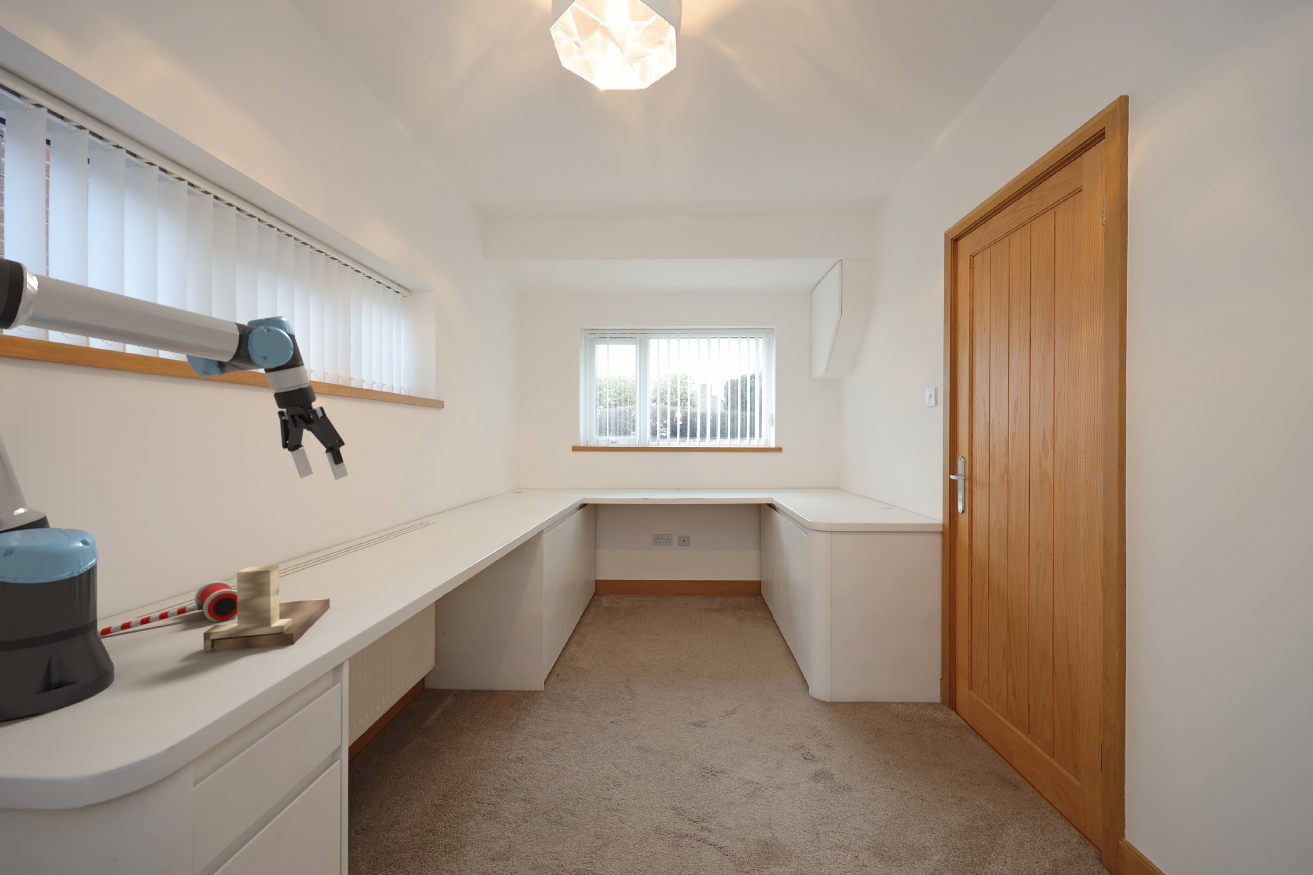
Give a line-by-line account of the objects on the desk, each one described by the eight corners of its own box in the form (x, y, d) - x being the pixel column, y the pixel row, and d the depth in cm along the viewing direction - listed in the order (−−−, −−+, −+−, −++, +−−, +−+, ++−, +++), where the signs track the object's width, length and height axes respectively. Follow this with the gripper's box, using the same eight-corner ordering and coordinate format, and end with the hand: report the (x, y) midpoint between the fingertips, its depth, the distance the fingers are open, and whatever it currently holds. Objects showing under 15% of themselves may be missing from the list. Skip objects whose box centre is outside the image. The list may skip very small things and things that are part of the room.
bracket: (203, 650, 94) (202, 574, 94) (215, 642, 98) (214, 569, 98) (284, 642, 98) (283, 569, 98) (292, 635, 102) (291, 564, 102)
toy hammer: (85, 651, 97) (85, 614, 97) (83, 635, 105) (82, 601, 105) (244, 618, 114) (244, 587, 114) (231, 606, 122) (231, 578, 122)
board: (214, 652, 95) (213, 639, 95) (265, 612, 116) (265, 603, 116) (293, 644, 98) (293, 632, 98) (329, 607, 119) (329, 597, 119)
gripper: (342, 380, 119) (372, 471, 125) (277, 386, 131) (308, 469, 137) (308, 389, 113) (341, 484, 119) (244, 394, 125) (277, 481, 131)
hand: (323, 476), depth 128 cm, fingers open, 13 cm apart
